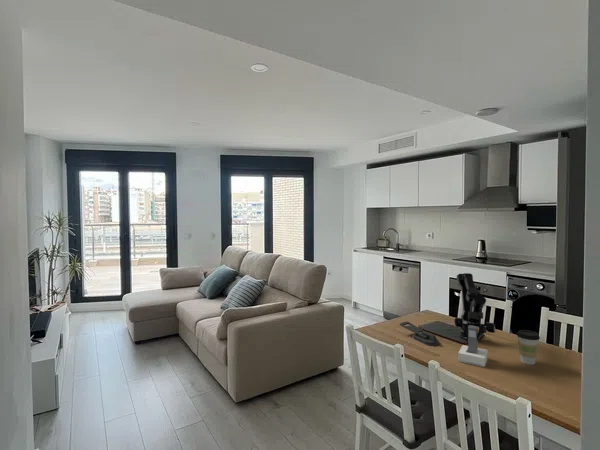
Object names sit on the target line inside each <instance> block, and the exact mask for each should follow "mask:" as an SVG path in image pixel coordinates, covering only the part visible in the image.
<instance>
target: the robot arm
mask: <svg viewBox="0 0 600 450" xmlns="http://www.w3.org/2000/svg"><path fill="white" fill-rule="evenodd" d="M456 281H457V285H458V286H459V288H460V289H461V302H462V314H461V315H460V317H455V318H454V325H455V327H456V328H460V329H461V330H460V336H462V337H467V339H468V327H469V325H472V326H478V336H477V341H478V342H479V341H480V339H481V337H482V336H483V335H484V334H487V332H488V333H492V334H493V333H496V326H495V324H494V322H490V321H489V322H488V321H486V322H485V323H482V320H484V312H483V309H484V307H485V305H486V302H487V299H486V296H484V295H482V293H481V291H480V290H479V289H477V288H476V284H475V282H474V277H473V274H472V273H470V272H466V273H465V272H464V273H458V274H457V275H456Z"/></svg>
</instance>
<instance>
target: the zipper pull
mask: <svg viewBox="0 0 600 450" xmlns="http://www.w3.org/2000/svg"><path fill="white" fill-rule="evenodd" d="M400 326H401V327H402V328H404V329H406V330H408V331H411V332H413V333H414V334H413V337H412V338H413V340H415V341H417V342H419V343H422V344H423V345H425V346H429V347H430V346H431V347H432V346H436V345H437V346H438V344H439V339H438V338H437V336H436V335H435V334H432V333H430V332H428V331H425V330H423V329H421V328H419V327H418V326H417V325H415V324H413V323H411V322H409V321H404V322H403V321H402V322H400V323H399V327H400Z"/></svg>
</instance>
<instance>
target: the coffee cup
mask: <svg viewBox="0 0 600 450" xmlns="http://www.w3.org/2000/svg"><path fill="white" fill-rule="evenodd" d="M516 336H517V344H518V345H517V346H518V351H519V356H520V358H519V359H520V362H522V364H525V365H535V364H536V361H537V357H538V350H539V341H540V339H541V337H540V335H539V333H538V332H536V331H533V330H530V329H529V330H528V329H520V330H518V331H517V333H516Z"/></svg>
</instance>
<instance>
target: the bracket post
mask: <svg viewBox="0 0 600 450" xmlns="http://www.w3.org/2000/svg"><path fill="white" fill-rule="evenodd" d="M478 331H479V327H478V326H472V325H469V327H468V340H467V346H468V352H470V353H475V354H477V352H478V348H479V340H478V341H477V336H478Z"/></svg>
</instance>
